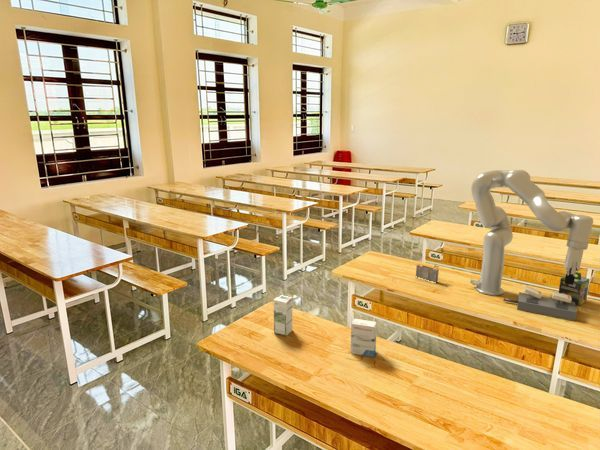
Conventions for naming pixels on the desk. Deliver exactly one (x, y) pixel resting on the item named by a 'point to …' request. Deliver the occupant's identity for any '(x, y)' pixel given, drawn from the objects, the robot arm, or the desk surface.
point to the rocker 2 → (561, 297)
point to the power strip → (545, 306)
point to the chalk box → (575, 289)
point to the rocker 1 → (533, 292)
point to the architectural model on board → (427, 273)
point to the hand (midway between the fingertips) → (568, 283)
